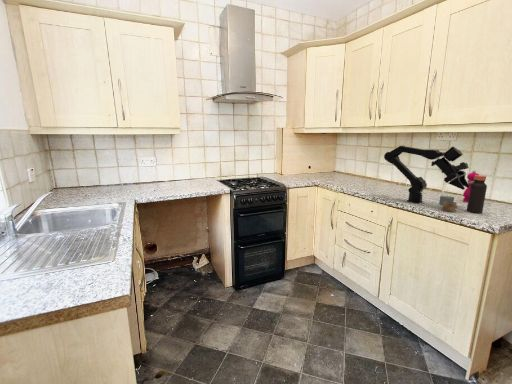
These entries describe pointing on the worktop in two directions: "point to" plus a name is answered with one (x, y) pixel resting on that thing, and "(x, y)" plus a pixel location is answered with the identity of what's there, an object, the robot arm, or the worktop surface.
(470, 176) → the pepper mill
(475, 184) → the vinegar
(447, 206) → the walnut cube
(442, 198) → the slate cube
